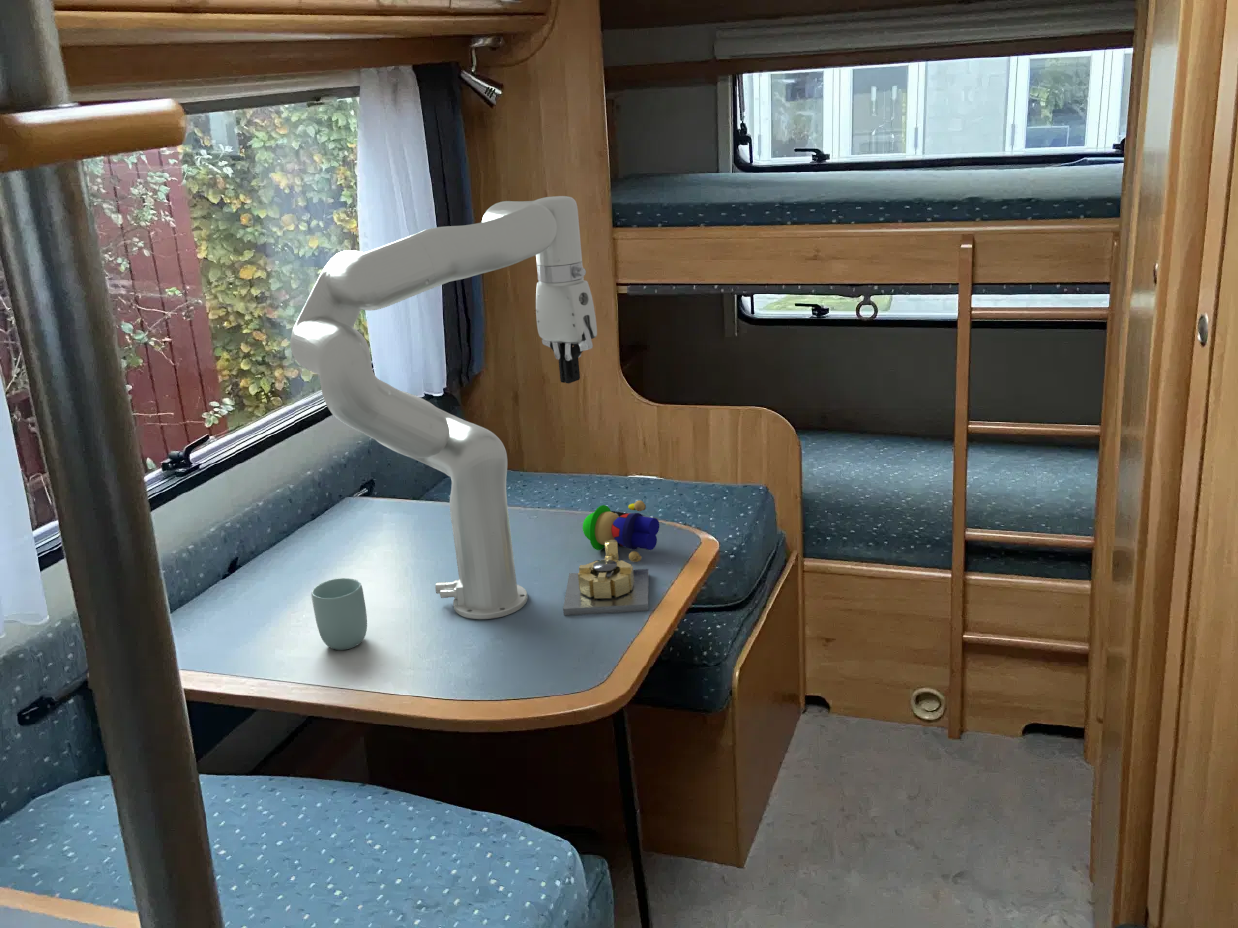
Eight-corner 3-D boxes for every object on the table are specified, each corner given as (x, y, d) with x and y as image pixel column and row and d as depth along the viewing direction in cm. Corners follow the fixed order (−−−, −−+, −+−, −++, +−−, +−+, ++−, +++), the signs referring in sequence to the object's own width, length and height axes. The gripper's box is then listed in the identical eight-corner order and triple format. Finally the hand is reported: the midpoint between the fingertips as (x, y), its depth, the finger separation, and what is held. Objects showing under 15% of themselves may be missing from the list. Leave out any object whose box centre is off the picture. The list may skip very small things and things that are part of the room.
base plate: (563, 615, 186) (560, 584, 184) (570, 578, 199) (567, 549, 198) (648, 610, 185) (645, 579, 183) (648, 573, 199) (646, 544, 197)
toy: (673, 509, 209) (603, 499, 216) (654, 496, 202) (583, 486, 209) (658, 570, 207) (588, 559, 214) (639, 559, 199) (567, 547, 206)
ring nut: (629, 597, 186) (627, 570, 185) (576, 598, 188) (573, 571, 186) (639, 565, 199) (637, 539, 197) (589, 565, 200) (586, 540, 198)
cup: (346, 659, 177) (336, 602, 173) (311, 650, 181) (300, 593, 177) (380, 638, 183) (371, 582, 180) (345, 629, 187) (336, 574, 184)
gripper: (609, 272, 183) (617, 380, 189) (544, 267, 193) (554, 371, 198) (578, 280, 178) (588, 391, 184) (512, 275, 187) (524, 381, 193)
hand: (570, 381), depth 191 cm, fingers closed
